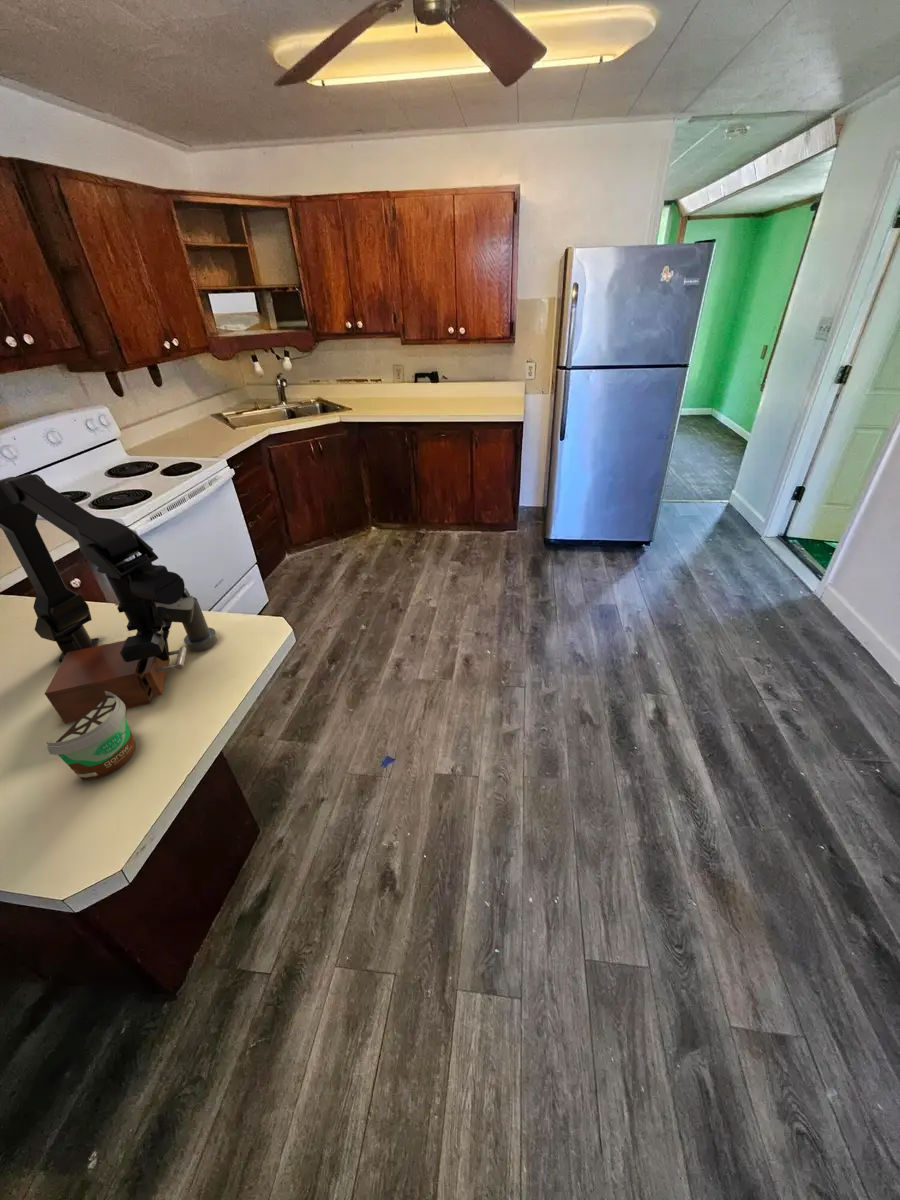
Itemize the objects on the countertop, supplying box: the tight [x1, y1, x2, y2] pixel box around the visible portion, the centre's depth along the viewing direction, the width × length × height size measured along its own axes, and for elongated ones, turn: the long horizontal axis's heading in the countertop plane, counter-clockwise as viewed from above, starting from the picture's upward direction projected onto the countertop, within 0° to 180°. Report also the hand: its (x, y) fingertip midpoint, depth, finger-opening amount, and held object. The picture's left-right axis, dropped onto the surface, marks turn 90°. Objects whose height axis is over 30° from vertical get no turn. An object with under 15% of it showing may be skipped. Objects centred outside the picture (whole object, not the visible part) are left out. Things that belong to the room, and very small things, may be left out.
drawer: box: [137, 646, 188, 697], centre depth 96 cm, size 18×11×6 cm, turn 109°
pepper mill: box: [181, 596, 210, 642], centre depth 106 cm, size 4×4×10 cm
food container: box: [46, 691, 137, 781], centre depth 80 cm, size 12×6×10 cm, turn 168°
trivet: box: [183, 626, 219, 653], centre depth 109 cm, size 7×7×2 cm
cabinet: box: [44, 640, 154, 724], centre depth 95 cm, size 15×13×8 cm
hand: (166, 659), depth 97 cm, fingers closed
